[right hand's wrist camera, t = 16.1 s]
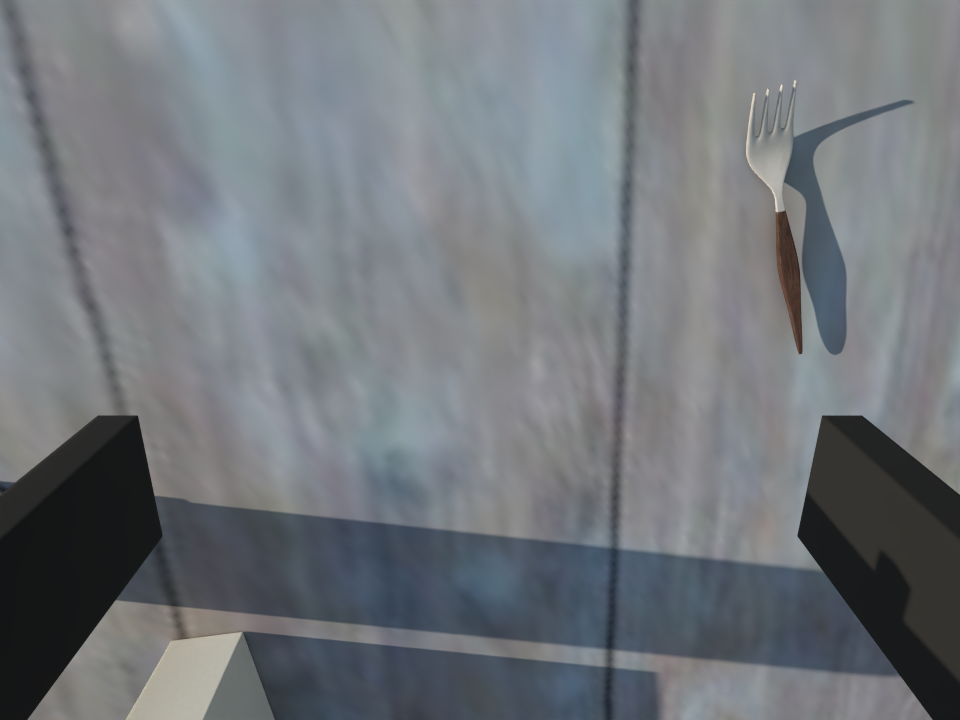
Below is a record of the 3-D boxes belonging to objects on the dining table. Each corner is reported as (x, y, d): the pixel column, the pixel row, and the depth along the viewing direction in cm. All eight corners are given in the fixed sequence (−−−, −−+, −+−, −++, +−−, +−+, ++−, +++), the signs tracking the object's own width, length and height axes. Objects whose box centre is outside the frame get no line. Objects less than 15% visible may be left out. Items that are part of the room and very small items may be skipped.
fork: (775, 356, 42) (789, 368, 40) (736, 94, 36) (750, 94, 34) (817, 345, 41) (833, 356, 39) (784, 80, 36) (801, 78, 34)
